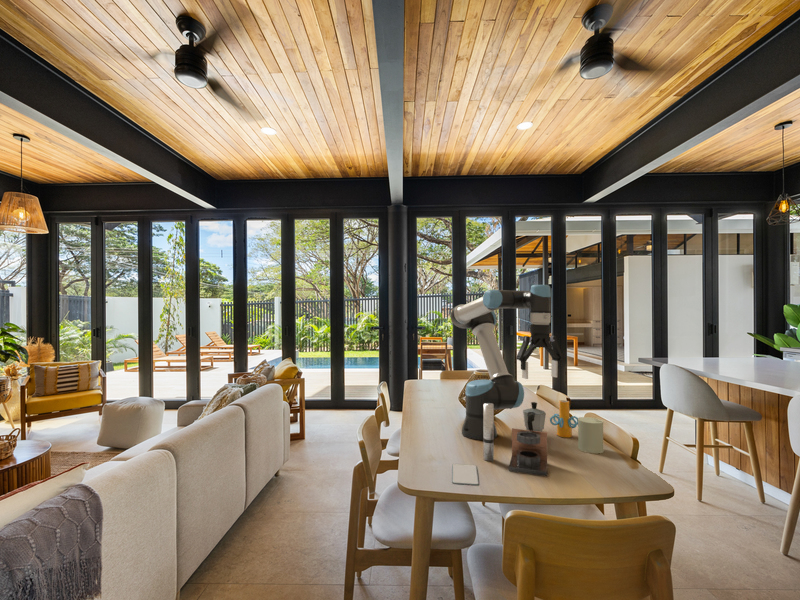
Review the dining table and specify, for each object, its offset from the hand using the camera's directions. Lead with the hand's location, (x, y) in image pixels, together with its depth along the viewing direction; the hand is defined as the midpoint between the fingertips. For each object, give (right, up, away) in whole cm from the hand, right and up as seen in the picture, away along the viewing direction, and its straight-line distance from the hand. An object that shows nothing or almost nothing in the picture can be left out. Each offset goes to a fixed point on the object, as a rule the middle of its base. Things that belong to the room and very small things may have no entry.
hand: (539, 377), depth 153 cm
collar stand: (-11, -27, -19) cm, 35 cm away
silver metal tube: (-23, -27, -12) cm, 38 cm away
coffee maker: (-3, -28, 0) cm, 28 cm away
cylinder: (+17, -29, +17) cm, 38 cm away
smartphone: (-34, -27, -26) cm, 50 cm away
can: (+20, -29, 0) cm, 35 cm away
